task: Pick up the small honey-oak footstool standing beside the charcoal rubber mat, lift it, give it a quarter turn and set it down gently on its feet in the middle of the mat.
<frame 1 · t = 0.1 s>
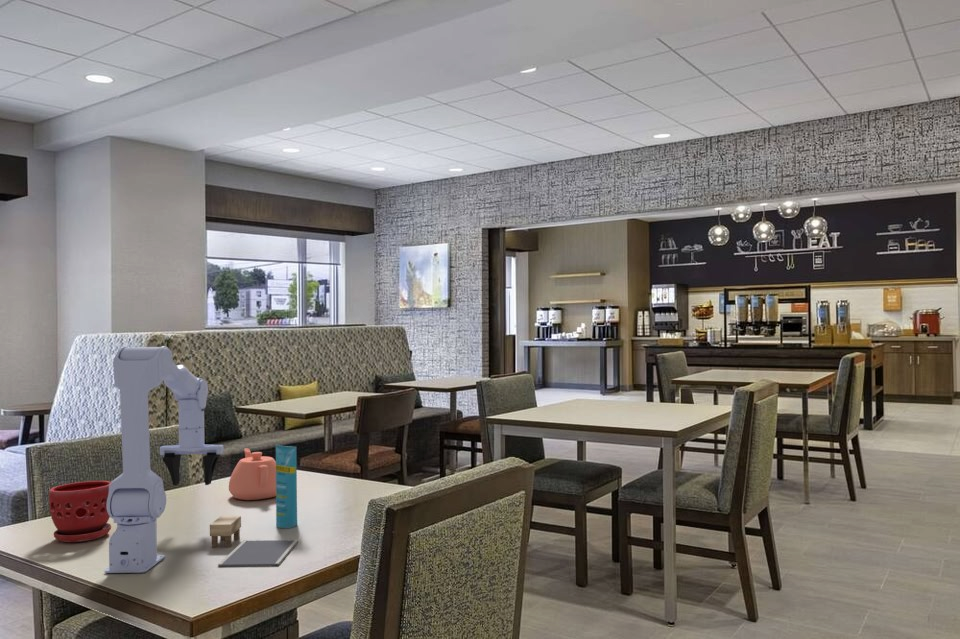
hand: (192, 484, 175), 10 cm above the table, fingers open, 7 cm apart
mat: (260, 553, 154), on the table
plant pot: (82, 538, 168), on the table
stool: (225, 542, 162), on the table
tube: (286, 526, 175), on the table
teapot: (256, 496, 207), on the table
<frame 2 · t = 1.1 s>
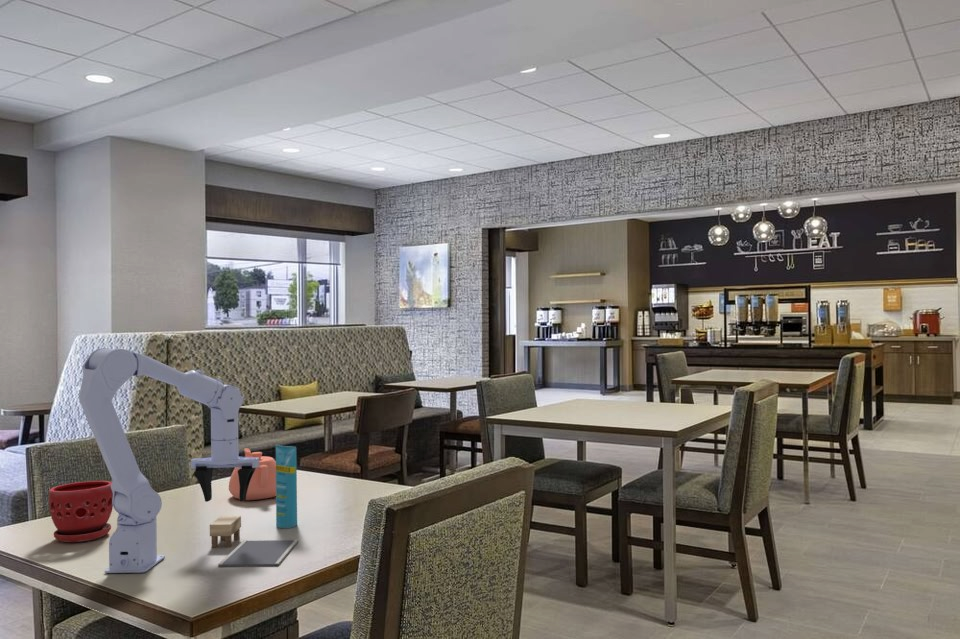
hand: (225, 500, 162), 9 cm above the table, fingers open, 7 cm apart
nothing on the table moved.
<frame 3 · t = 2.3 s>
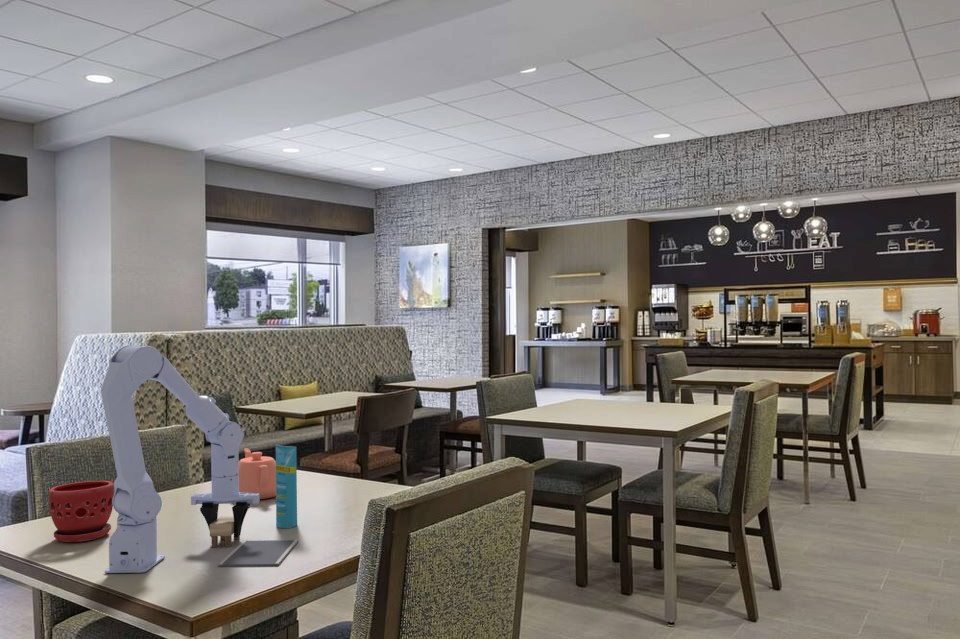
hand: (225, 536, 162), 1 cm above the table, fingers closed on stool, 4 cm apart
stool: (225, 542, 162), on the table, touching gripper
everything else where it was.
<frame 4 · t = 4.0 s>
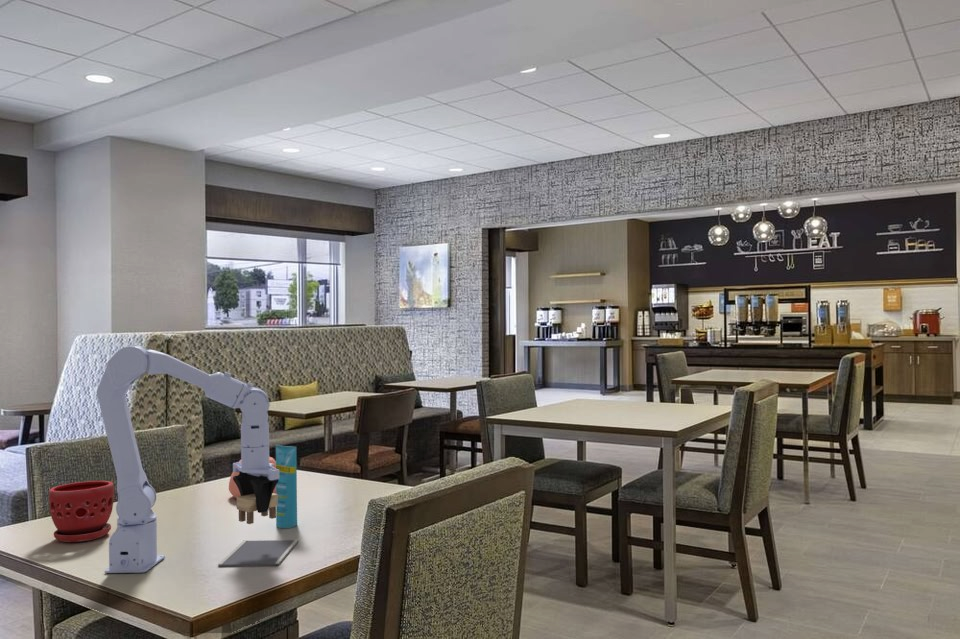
hand: (256, 509, 155), 9 cm above the table, fingers closed on stool, 4 cm apart
stool: (257, 519, 155), point 7 cm above the table, touching gripper
everything else where it was.
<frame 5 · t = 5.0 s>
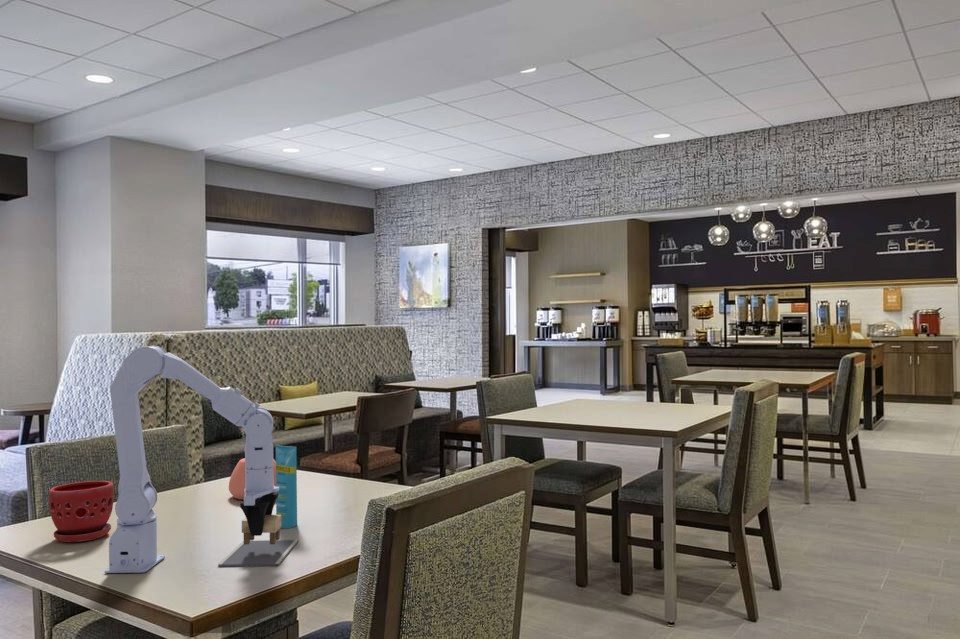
hand: (260, 531, 154), 5 cm above the table, fingers closed on stool, 4 cm apart
stool: (261, 541, 154), point 3 cm above the table, touching gripper
everything else where it was.
when the fingers open (3 cm above the table, at t = 5.8 s): stool stays where it is, resting on mat.
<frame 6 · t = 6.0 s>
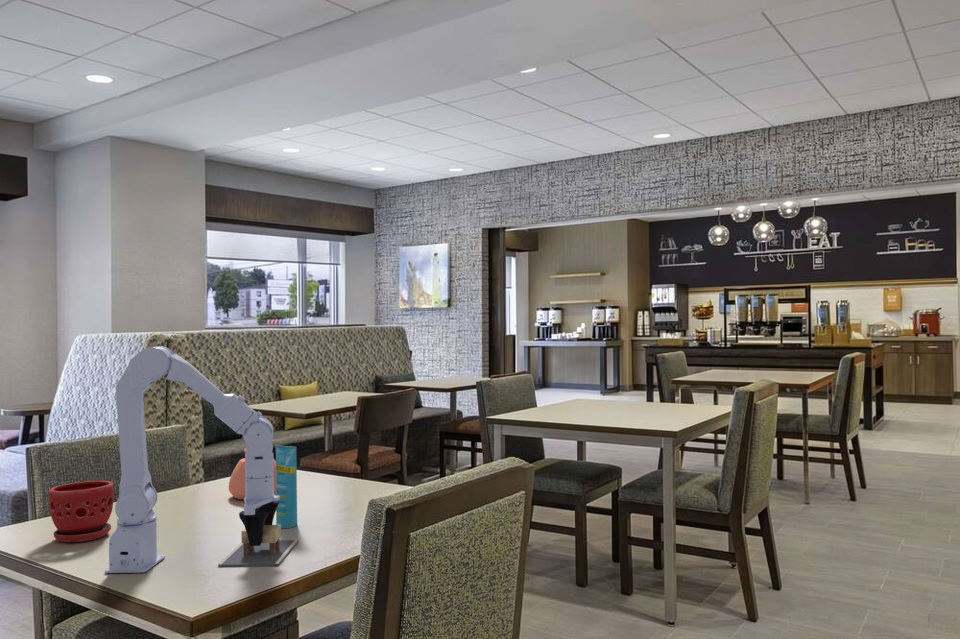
hand: (260, 540, 154), 3 cm above the table, fingers open, 6 cm apart
stool: (261, 551, 154), resting on mat
everything else where it was.
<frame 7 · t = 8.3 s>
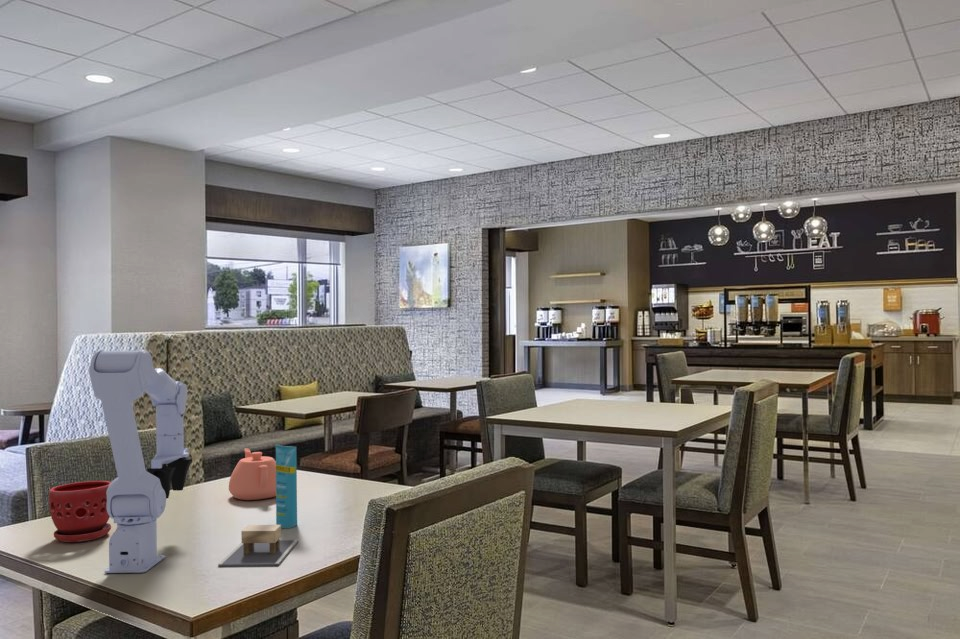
hand: (170, 494, 166), 10 cm above the table, fingers open, 7 cm apart
nothing on the table moved.
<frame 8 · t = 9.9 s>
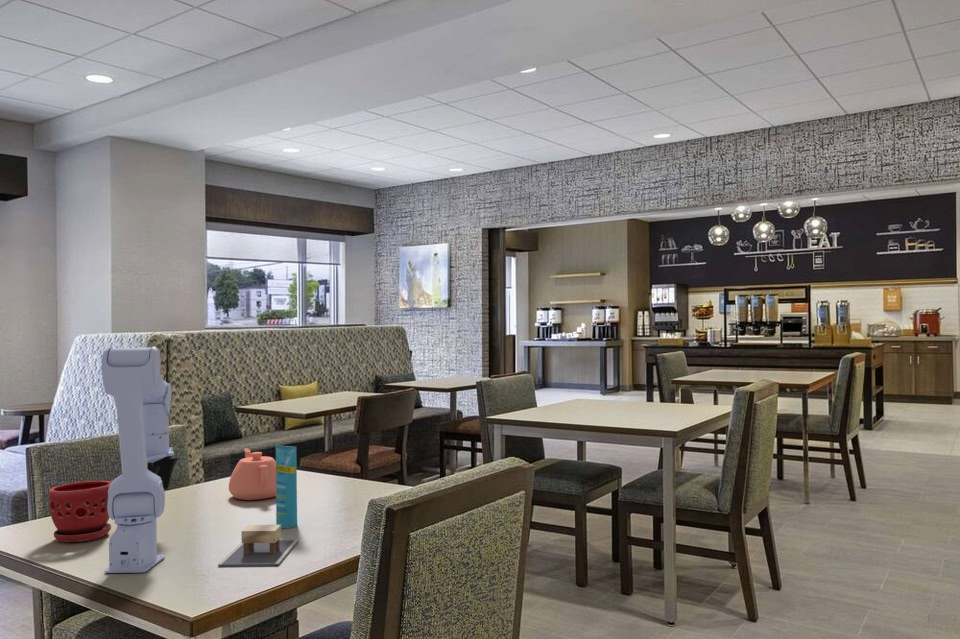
hand: (156, 492, 168), 10 cm above the table, fingers open, 7 cm apart
nothing on the table moved.
at the end: stool inside the target area on the mat (0.3 cm from its centre), point 0.4 cm above the mat's base; stool tilted 0°; the gripper is holding nothing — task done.
